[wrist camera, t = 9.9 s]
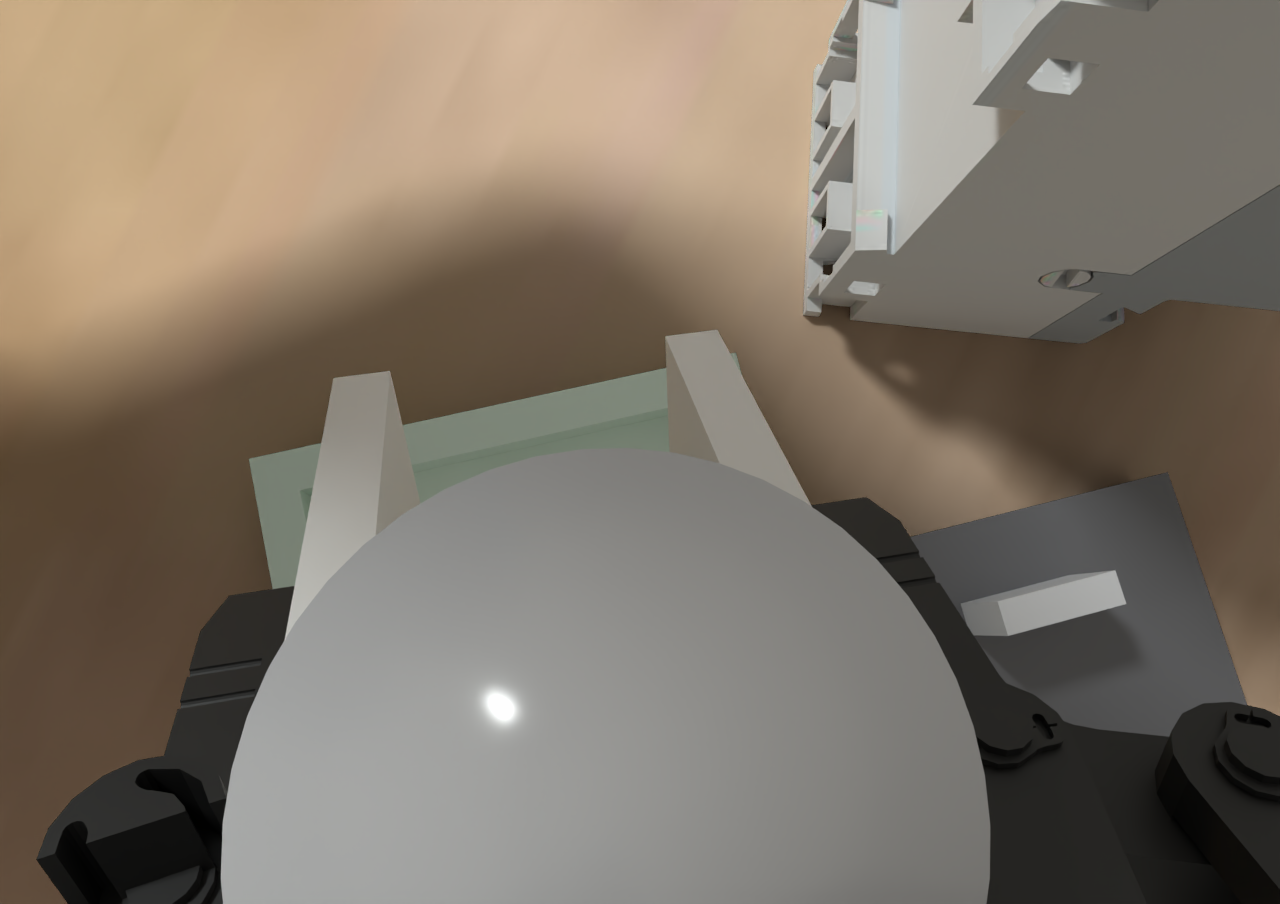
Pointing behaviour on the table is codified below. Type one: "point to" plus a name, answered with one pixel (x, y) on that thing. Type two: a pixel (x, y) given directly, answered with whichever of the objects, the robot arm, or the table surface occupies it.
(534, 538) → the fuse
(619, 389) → the tray
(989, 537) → the block
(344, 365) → the table surface
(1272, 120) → the circuit breaker
